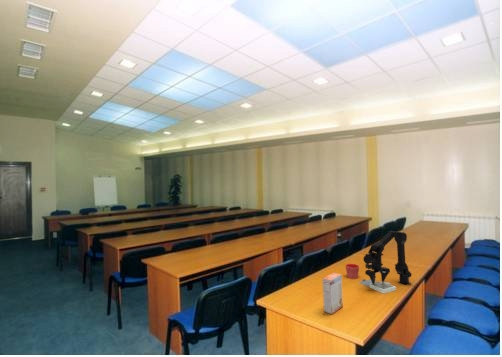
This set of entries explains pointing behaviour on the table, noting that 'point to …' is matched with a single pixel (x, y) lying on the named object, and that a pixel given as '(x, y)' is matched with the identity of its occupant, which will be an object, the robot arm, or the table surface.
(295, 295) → the table surface
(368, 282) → the lid board
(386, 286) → the light grey cube
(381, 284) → the grey cube
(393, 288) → the tray
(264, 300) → the table surface
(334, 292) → the cracker box
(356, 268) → the flower pot
